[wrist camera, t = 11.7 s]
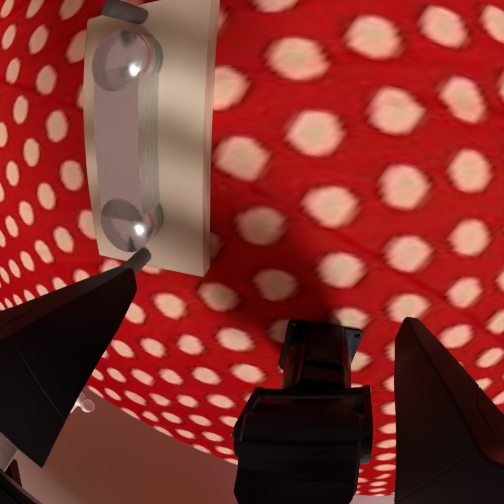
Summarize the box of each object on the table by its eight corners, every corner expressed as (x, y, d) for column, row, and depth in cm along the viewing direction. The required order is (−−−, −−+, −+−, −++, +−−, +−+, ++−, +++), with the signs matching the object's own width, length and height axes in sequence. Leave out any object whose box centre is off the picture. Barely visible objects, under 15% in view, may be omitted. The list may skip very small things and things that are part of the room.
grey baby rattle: (165, 241, 22) (149, 256, 20) (122, 233, 22) (105, 247, 20) (165, 31, 14) (145, 25, 12) (115, 40, 15) (93, 37, 13)
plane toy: (37, 375, 51) (23, 392, 46) (58, 360, 41) (40, 382, 36) (69, 406, 53) (57, 424, 48) (100, 400, 44) (85, 423, 39)
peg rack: (210, 266, 24) (185, 304, 20) (109, 247, 25) (75, 275, 21) (220, -1, 14) (188, -26, 10) (99, 21, 16) (55, 15, 11)
